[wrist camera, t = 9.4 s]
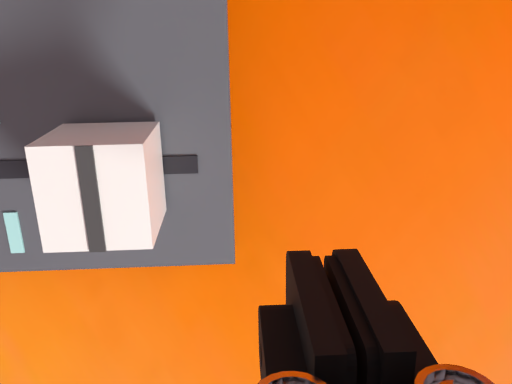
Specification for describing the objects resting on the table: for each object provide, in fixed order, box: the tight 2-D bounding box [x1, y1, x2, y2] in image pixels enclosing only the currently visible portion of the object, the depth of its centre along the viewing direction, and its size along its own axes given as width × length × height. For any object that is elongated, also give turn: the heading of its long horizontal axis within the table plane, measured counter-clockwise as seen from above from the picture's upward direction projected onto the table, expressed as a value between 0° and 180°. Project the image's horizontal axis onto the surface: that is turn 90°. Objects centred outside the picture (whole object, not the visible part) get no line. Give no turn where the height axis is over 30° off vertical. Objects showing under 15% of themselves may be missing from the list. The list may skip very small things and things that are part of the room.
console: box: [0, 0, 235, 272], centre depth 20 cm, size 20×18×2 cm
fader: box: [24, 121, 166, 253], centre depth 19 cm, size 4×4×4 cm
